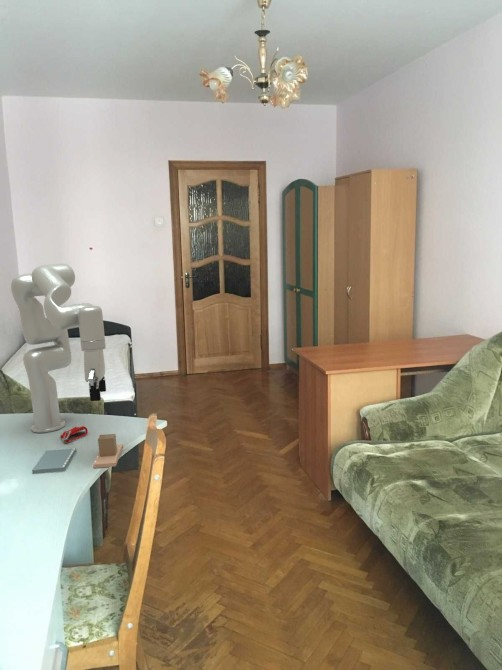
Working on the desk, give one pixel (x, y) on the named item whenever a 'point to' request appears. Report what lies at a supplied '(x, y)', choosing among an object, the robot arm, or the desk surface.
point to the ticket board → (54, 461)
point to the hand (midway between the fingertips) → (98, 396)
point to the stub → (107, 451)
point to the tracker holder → (73, 431)
